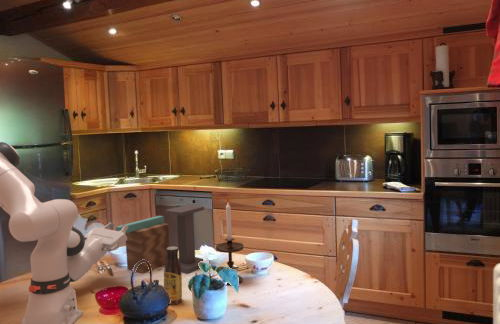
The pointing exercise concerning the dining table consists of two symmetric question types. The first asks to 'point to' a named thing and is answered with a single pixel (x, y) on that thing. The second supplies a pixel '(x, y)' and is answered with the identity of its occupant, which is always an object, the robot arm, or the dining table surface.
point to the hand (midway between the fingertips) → (119, 224)
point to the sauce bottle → (173, 276)
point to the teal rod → (142, 224)
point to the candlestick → (229, 241)
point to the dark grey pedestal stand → (186, 236)
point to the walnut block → (147, 247)
